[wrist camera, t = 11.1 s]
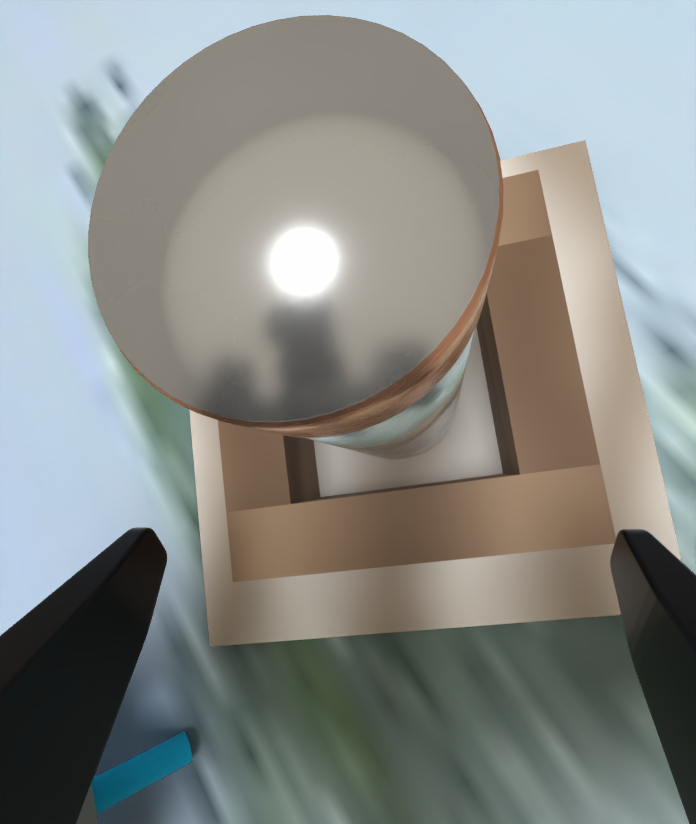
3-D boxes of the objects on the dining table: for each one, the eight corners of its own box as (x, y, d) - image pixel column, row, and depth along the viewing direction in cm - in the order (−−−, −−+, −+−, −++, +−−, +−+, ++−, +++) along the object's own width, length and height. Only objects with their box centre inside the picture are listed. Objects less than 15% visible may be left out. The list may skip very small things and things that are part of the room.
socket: (219, 639, 18) (152, 690, 14) (185, 247, 20) (118, 189, 16) (679, 602, 15) (771, 652, 11) (578, 154, 18) (622, 56, 13)
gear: (-25, 636, 18) (-63, 775, 10) (139, 584, 21) (212, 656, 13) (18, 923, 18) (15, 1305, 10) (176, 826, 21) (272, 1048, 13)
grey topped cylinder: (374, 484, 17) (193, 513, 5) (312, 379, 18) (27, 174, 6) (484, 417, 16) (607, 252, 4) (415, 313, 17) (350, -68, 5)
